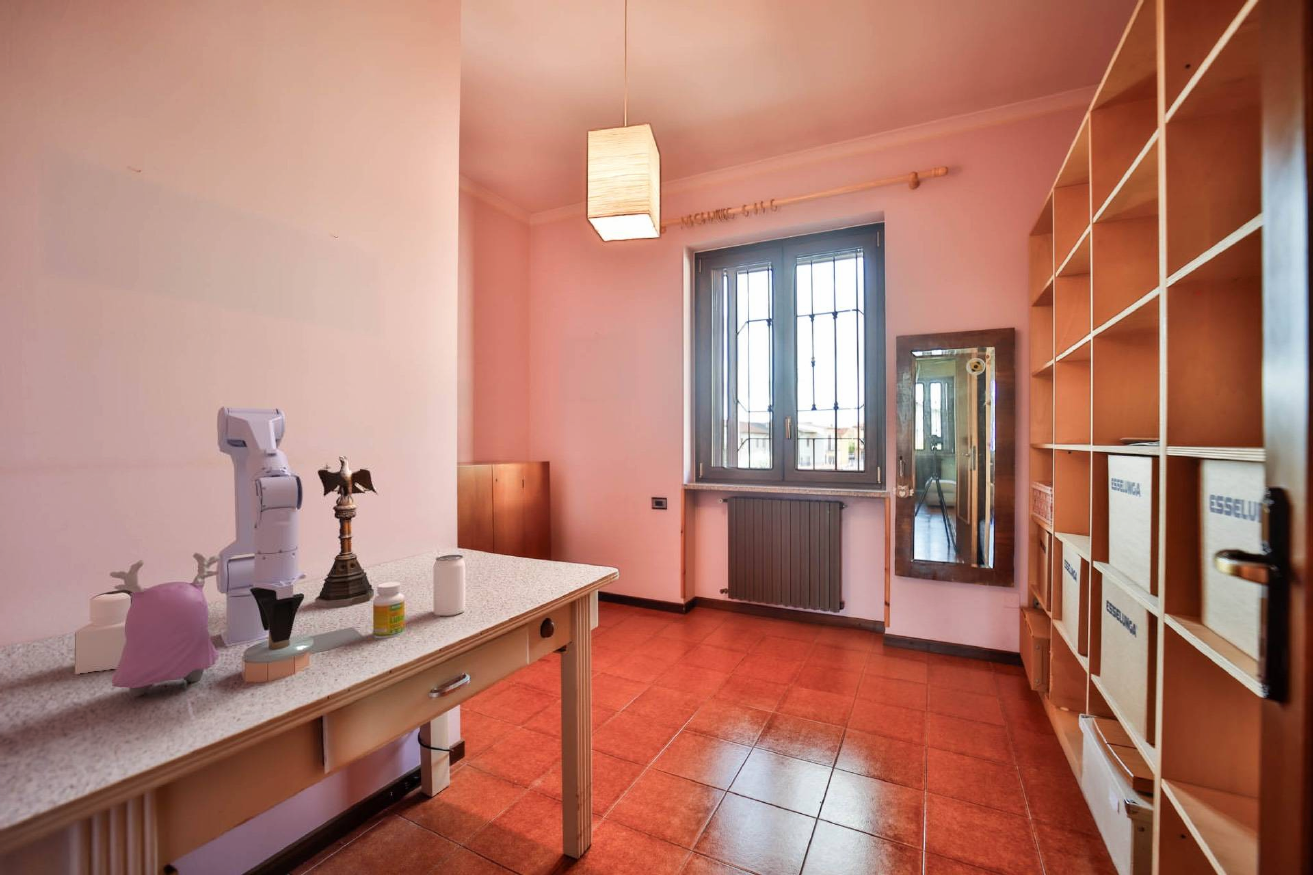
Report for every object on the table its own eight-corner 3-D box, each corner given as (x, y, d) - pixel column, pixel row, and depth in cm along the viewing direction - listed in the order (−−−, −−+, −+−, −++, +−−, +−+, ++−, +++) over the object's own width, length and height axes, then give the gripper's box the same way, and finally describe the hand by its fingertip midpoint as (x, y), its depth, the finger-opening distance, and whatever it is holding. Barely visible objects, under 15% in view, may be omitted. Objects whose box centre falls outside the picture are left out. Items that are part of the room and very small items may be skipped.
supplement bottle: (391, 640, 97) (391, 588, 97) (366, 639, 98) (366, 587, 98) (410, 630, 103) (410, 581, 103) (386, 629, 104) (386, 580, 104)
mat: (292, 642, 97) (292, 640, 97) (352, 628, 104) (352, 626, 104) (304, 657, 90) (304, 655, 90) (367, 641, 97) (367, 639, 97)
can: (471, 610, 115) (471, 556, 115) (445, 618, 109) (445, 561, 110) (453, 606, 118) (452, 553, 119) (427, 613, 113) (427, 558, 113)
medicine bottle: (99, 659, 90) (100, 589, 90) (153, 652, 93) (153, 584, 93) (73, 675, 84) (74, 600, 84) (132, 667, 86) (132, 595, 87)
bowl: (239, 672, 84) (239, 652, 84) (301, 656, 90) (301, 638, 90) (247, 688, 78) (247, 667, 78) (313, 671, 84) (312, 651, 84)
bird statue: (323, 591, 132) (322, 453, 132) (380, 586, 136) (380, 452, 136) (300, 610, 116) (300, 454, 117) (366, 604, 120) (366, 453, 121)
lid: (236, 652, 84) (236, 625, 84) (303, 636, 91) (303, 611, 91) (251, 668, 78) (251, 638, 78) (321, 649, 85) (321, 622, 85)
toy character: (217, 666, 87) (217, 545, 87) (221, 686, 79) (222, 554, 80) (112, 689, 78) (113, 557, 79) (106, 715, 71) (107, 568, 71)
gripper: (316, 552, 82) (316, 639, 82) (296, 541, 92) (296, 618, 92) (260, 559, 77) (260, 652, 77) (246, 547, 87) (245, 628, 87)
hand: (276, 634), depth 84 cm, fingers open, 7 cm apart
